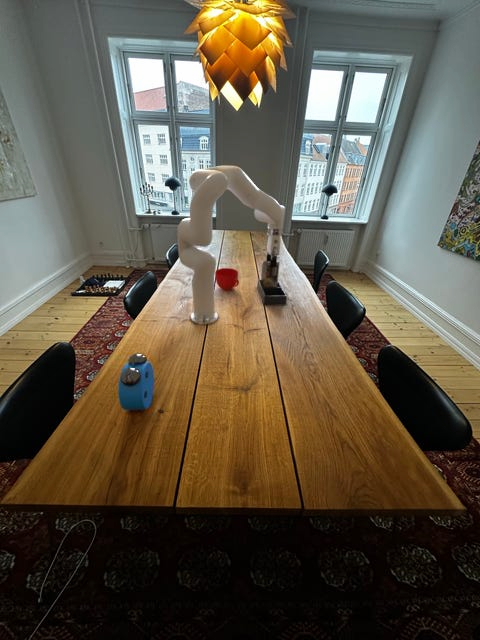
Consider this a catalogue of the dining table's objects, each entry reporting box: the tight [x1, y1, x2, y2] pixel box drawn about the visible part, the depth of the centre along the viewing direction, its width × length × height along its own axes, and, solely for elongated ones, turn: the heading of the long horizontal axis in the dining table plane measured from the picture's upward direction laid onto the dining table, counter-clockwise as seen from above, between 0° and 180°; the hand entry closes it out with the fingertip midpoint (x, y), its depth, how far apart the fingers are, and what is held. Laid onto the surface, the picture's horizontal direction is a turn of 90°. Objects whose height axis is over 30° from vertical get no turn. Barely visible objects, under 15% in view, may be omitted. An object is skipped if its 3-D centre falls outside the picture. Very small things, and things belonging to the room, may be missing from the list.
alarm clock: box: [118, 352, 155, 413], centre depth 72 cm, size 13×6×15 cm, turn 4°
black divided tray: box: [256, 278, 288, 306], centre depth 141 cm, size 23×12×5 cm, turn 5°
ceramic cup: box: [214, 267, 240, 291], centre depth 145 cm, size 13×17×10 cm
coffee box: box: [260, 260, 281, 287], centre depth 143 cm, size 9×6×16 cm
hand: (270, 264), depth 139 cm, fingers open, 9 cm apart
